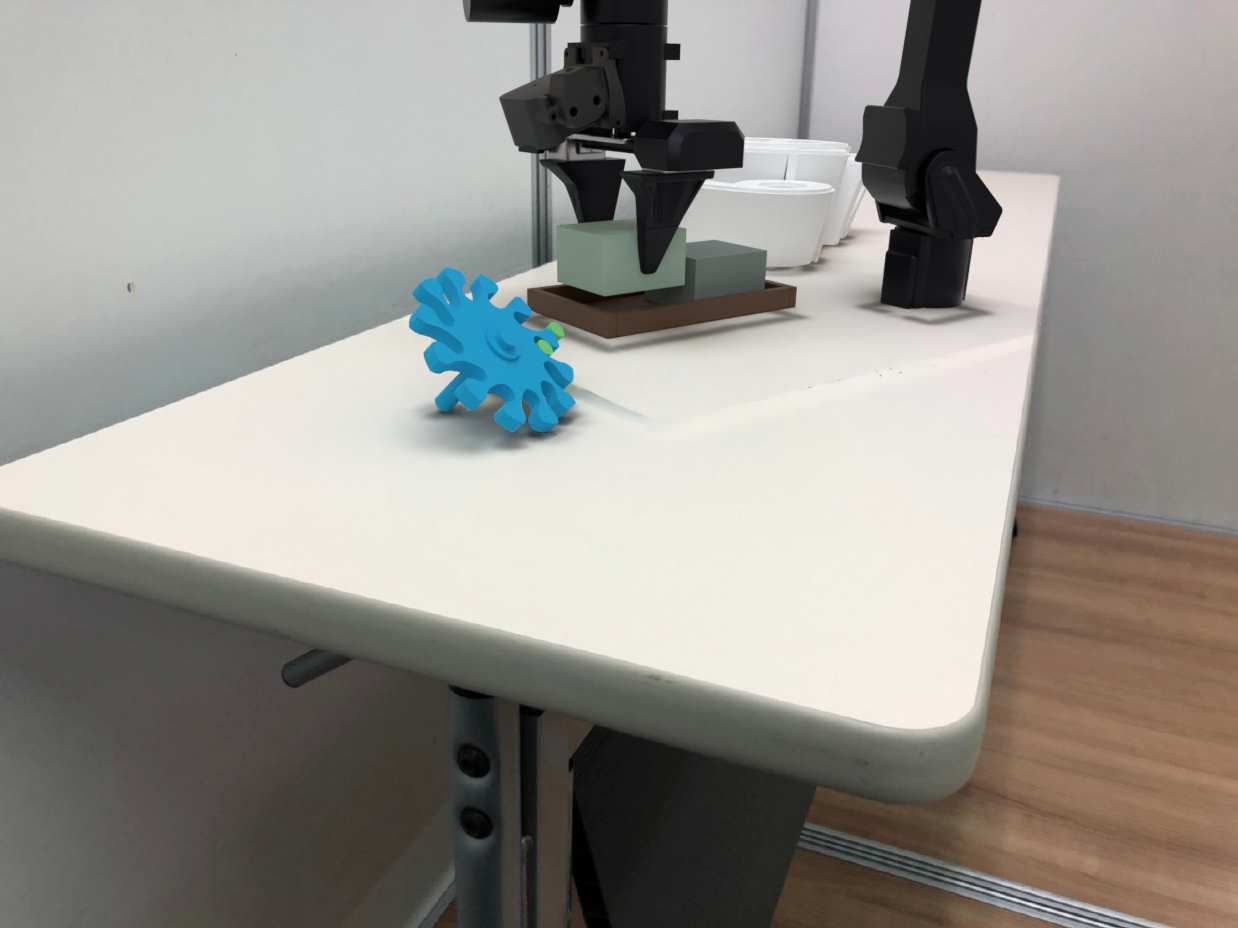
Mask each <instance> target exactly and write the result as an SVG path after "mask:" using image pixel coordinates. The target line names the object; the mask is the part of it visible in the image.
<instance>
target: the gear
mask: <svg viewBox="0 0 1238 928" xmlns="http://www.w3.org/2000/svg"><path fill="white" fill-rule="evenodd" d="M466 281H467V280H466V276H465V275H464V273H463V272H462V271H459V270H457V269H455V268H451V267H444V268H443V269H442V270H441V271H440V272H439V273H438V274H437V275H436V277H435V278H434V277H427V278H426V279H423V280H422V281H420V283H419V284H418V285H417V286H416V288H415V289H413V291H412V292H411V294H412V296H413V298H414V299H415V301H417V302H418V303H419V306H418V307H417V308H416V309H415V310H414V311H413V313H412V314H411V315H410V317H409V320H408V328H409V329H410V330H411V331H413V333H415V334H417V335H419V336H424V337H427V338H430V339H432V340H434V341H432V342H431V344H430V345H428V347H427V348H426V349H425V350H424V351H423V352H422V353H423V354H422V355H423V359H424V362H425V364H426V366H427V368H428V370H429V371H430V373H431V372H432V373H433V374H436V375H441V374H443V373H445V372H457V373H458V374H457V375H456V376H455V377H454V378H453V379H452V380H451V381H450V382H449V383H448V385H446V386H445V388H443V390H441V391H440V392H439V394H438V395H437V396H436V397H434V404H435V406H436V407H437V408H438V410H440V411H441V412H445V413H448V412H450V411H451V410H452V409H453V408H454V407H455V406H456V405H457V404H458V403H459V402H460V403H461V404H462V405H463V406H464V407H465V408H466V410H468V411H475V410H476V409H477V408H478V407H479V406H480V405H481V404H483V402H484V401H486V399H487V396H488V395H492V394H494V395H497V396H498V397H499V398H501V400H502V401H503V403H504V404H503V405H502V406H501V407H500V408H499V409H498V410H497V411H496V412H494V414H493V415H494V416H493V419H494V422H495V423H497V424H498V425H499V426H500V427H502V428H503V429H505V430H507V431H509V432H511V433H515V432H516V431H517V430H518V429H519V428H520V427H521V426H522V425H523V424H524V423H526V420H527V422H528V425H529V426H530V428H531V430H532V431H535V432H537V433H549V432H550V431H552V430H553V428H555V427H556V426H557V425H558V424H559V418H561V417H563V416H564V415H565V414H566V413H567V412H568V411H569V410H571V409H572V408H573V407H574V406H575V404H576V402H577V401H576V400H575V398H574V397H573V396H572V395H571V394H570V393H569V392H567V391H566V390H565V389H566V388H567V387H568V386H569V385H570V384H572V382H573V381H574V378H575V377H574V376H575V375H574V368H573V367H572V366H570V364H568V363H567V362H564V361H559V360H557V359H554V358H553V357H551V356H552V355H553V354H554V353H555V352H556V351H557V350H558V349H559V348H560V343H559V341H561V340H562V338H564V336H565V335H566V334H565V330H564V328H563V327H562V326H561V325H560V324H559V323H558V322H556V321H551V322H550V323H549V324H548V325H546V326H545V327H544V328H543V329H539V330H536V329H532V328H529V327H527V326H524V325H523V324H524V323H525V322H526V321H527V320H528V319H529V318H530V317H531V316H532V315H533V313H534V312H533V311H532V310H531V309H530V307H529V306H528V305H527V302H526V301H525V300H524V299H523V298H522V297H520V296H514V297H513V298H512V299H511V300H510V302H508V304H507V305H506V306H505V307H497V306H495V305H494V304H493V303H492V302H491V301H490V300H491V299H492V298H493V297H495V295H496V294H497V293H498V292H499V285H498V284H497V283H496V282H495V281H493V280H492V279H491V278H489V277H488V276H486V275H484V274H482V273H479V274H478V275H477V277H475V279H474V280H473V281H472V282H471V283H470V284H469V290H470V293H471V296H472V299H470V298H469V297H468V296H467V295H466V294H465V292H464V290H463V287H464V286H465V285H466ZM446 299H447V300H446ZM522 401H523V402H525V403H526V404H527V405H528V407H529V409H530V412H529V415H528V418H527V417H526V413H525V412H524V408H523V404H522V403H523V402H522Z"/></svg>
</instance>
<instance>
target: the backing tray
mask: <svg viewBox="0 0 1238 928" xmlns="http://www.w3.org/2000/svg"><path fill="white" fill-rule="evenodd" d="M797 291H798V287H797V286H796V285H795V286H794V285H790V284H786V283H782V282H779V281H775V280H770V279H766V278H765V289H764V290H758V291H751V292H745V293H738V294H731V295H725V296H718V297H712V298H705V299H699V300H692V301H686V302H679V303H673V304H666V305H662V304H658V303H655V302H652V301H648V300H645V299H644V296H645V291H640V292H633V293H626V294H619V295H612V296H602V295H598V294H595V293H592V292H589V291H586V290H582V289H579V288H576V287H573V286H570V285H567V284H563V283H559V284H553V285H545V286H537V287H529V288H526V304H527V305H528V306H529V307H530V309H531V310H532V312H533V313H536V314H538V315H542V316H544V317H547V318H549V319H552V320H555V321H558V322H560V323H563V324H566V325H569V326H571V327H574V328H577V329H579V330H581V331H584V332H588V333H589V334H593V335H595V336H598V337H601V338H604V339H606V340H612V339H618V338H623V337H630V336H636V335H642V334H647V333H652V332H659V331H664V330H670V329H677V328H682V327H683V328H684V327H688V326H693V325H699V324H700V325H701V324H706V323H711V322H717V321H723V320H729V319H734V318H741V317H747V316H752V315H753V316H754V315H758V314H764V313H769V312H776V311H781V310H787V309H793V308H796V303H797V293H798V292H797Z"/></svg>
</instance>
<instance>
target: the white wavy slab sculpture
mask: <svg viewBox="0 0 1238 928" xmlns="http://www.w3.org/2000/svg"><path fill="white" fill-rule="evenodd" d="M851 150H852V146H850V145H849V143H847V142H841V141H832V140H831V141H830V140H818V139H805V138H804V139H801V138H782V137H781V138H779V137H753V136H752V137H749V136H745V141H744V159H743V168H733V169H716V170H715V175H714V178H713V179H706V180H705V182H704V184H703V185H702V187H701V189H700V190H699V192H698V194H697V195H696V197H695V199H694V200H693V202H692V204H691V205H690V207H689V208H688V210H687V212H686V214H685V215H684V217H683V219H682V221H681V223H680V225H679V227H682V228H686V229H687V231H686V243H690V242H699V241H708V240H719V241H724V242H729V243H733V244H738V245H743V246H748V247H753V248H758V249H762V250H767V262H766V268H767V267H768V268H790V267H803V266H806V265H809V264H812V263H811V262H813V263H818V262H819V258H820V255H821V251H822V247H823V246H837V245H838V244H839V242H840V240H843V239H845V238H846V237H847V235H848V232H849V231H850V228H851V226H852V223H853V221H854V219H855V216H856V214H857V212H858V210H859V207H860V205H861V203H862V201H863V198H864V196H865V195H866V193H867V191H868V190H867V189H866V187H864V185H863V182H862V178H861V173H862V163H860V162H856V161H855V157H856V155H857V153H850V152H851Z"/></svg>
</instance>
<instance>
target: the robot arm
mask: <svg viewBox="0 0 1238 928" xmlns="http://www.w3.org/2000/svg"><path fill="white" fill-rule="evenodd" d="M461 1H462V8H463V14H464V18H465V21H466V23H486V24H487V23H489V24H491V23H494V24H529V25H530V24H533V25H535V24H536V25H554V24H556V22H557V21H558V18H559V13H560V10H561V9H560V8H561V7H562V8H571V7H573V4H574V1H575V0H461ZM909 2H910V3H909V7H908V14H907V20H906V27H905V33H904V40H903V45H902V51H901V59H900V64H899V70H898V71H899V72H898V77H897V79H896V83H895V85H894V86H893V89H892V90H891V91H890V94H889V95H888V97H887V99H886V100H885V101H884V104H883V105H875V104H874V105H873V104H867V105H866V106H865V107H864V111H863V114H862V134H861V135H862V137H861V142H860V146H859V149H858V151H857V152H856V154H857V155H856V157H855V161H856V162H860V163H862V173H861V178H862V182H863V185H864V187H866V189H867V190H866V191H867V192H868V193H869V195H870V196H871V197H872V198H873V199H874V203H875V207H876V208H875V209H876V212H877V216H878V221H879V223H882V224H889V225H893V226H894V228H893V229H892V228H891V229H890V230H889V237H888V244H887V245H888V247H887V250H886V251H885V255H884V264H883V273H882V281H881V289H880V298H879V299H880V300H879V303H880V304H882V305H887V306H892V307H896V308H900V309H905V310H919V309H920V310H921V309H952V308H956V307H959V306H962V304H963V301H965V300H966V295H967V288H968V281H969V275H970V268H971V263H972V254H973V249H974V248H973V247H974V241H975V239H977V238H990V237H992V236H993V235H994V232H995V230H996V227H997V225H998V223H999V222H1000V219H1001V217H1002V215H1003V206H1001V204H1000V203H999V201H998V200H997V199H996V197H995V196H994V194H993V193H992V192H991V190H990V189H989V187H987V185H986V184H985V183H984V181H983V180H982V178H981V177H980V176H979V174H978V172H977V163H978V162H977V161H978V159H977V158H978V138H979V128H978V124H977V120H976V116H975V113H974V112H975V111H974V107H973V105H972V101H971V96H970V93H969V89H968V88H969V87H968V82H969V81H968V80H969V75H970V74H969V73H970V70H971V69H970V68H971V64H972V58H973V52H974V46H975V41H976V36H977V31H978V25H979V19H980V14H981V8H982V3H983V0H909ZM668 17H669V0H579V24H580V26H579V28H580V29H579V37H580V38H579V39H580V40H579V41H578V42H577V41H574V42H567V43H566V46H567V47H565V48H564V51H563V67H562V68H561V69H559V70H556V71H554V72H551V73H548V74H545V75H543V76H540V77H538V78H536V79H533V80H531V81H529V82H527V83H524V84H522V85H520V86H518V87H516V88H514V89H512V90H510V91H507V92H505V93H503V94H501V95H500V96H499V97H498V100H499V103H500V105H501V108H502V111H503V115H504V117H505V121H506V123H507V124H506V125H507V127H508V129H509V133H510V136H511V140H512V141H513V144H514V146H515V147H518V148H517V149H518V152H519V153H528V154H535V155H543V154H545V152H546V151H547V158H541V159H538V162H539V164H540V165H541V167H543V168H546V169H548V170H549V171H550V172H551V173H553V175H554V176H555V177H556V178H557V179H559V180H560V182H561V183H563V185H564V187H565V189H566V192H567V195H568V197H569V200H570V202H571V205H572V208H573V211H574V215H575V218H576V221H577V223H588V222H599V221H610V220H615V214H616V210H617V204H618V199H619V195H620V190H621V186H622V182H623V181H624V182H625V184H626V186H627V187H628V188H629V190H630V191H631V192H632V194H633V195H634V201H635V218H636V222H637V242H638V256H639V263H640V271H641V273H642V274H653V273H655V272H656V271H657V269H658V267H659V265H660V263H661V261H662V259H663V257H664V255H665V253H666V251H667V249H668V247H669V245H670V243H671V241H672V239H673V237H674V235H675V233H676V231H677V229H678V227H679V225H680V223H681V221H682V219H683V217H684V215H685V214H686V212H687V210H688V208H689V207H690V205H691V204H692V202H693V200H694V199H695V197H696V195H697V194H698V192H699V190H700V189H701V187H702V185H703V184H704V182H705V180H706V179H713V178H714V175H715V170H716V169H733V168H743V159H744V141H745V137H746V136H745V134H744V133H743V132H742V130H741V129H740V127H739V126H738V124H737V122H736V121H734V120H719V119H707V118H706V119H705V118H704V119H703V118H693V119H692V118H691V119H679V109H666V107H667V105H666V102H667V101H666V100H667V71H668V70H667V64H668V62H667V61H681V47H682V46H681V43H674V42H673V43H670V42H668V31H669V30H668V28H669V27H668V22H669V21H668V20H669V18H668ZM632 133H635V134H632ZM606 152H615V153H623V154H631V155H634V157H635V159H636V161H637V163H638V164H639V166H640V168H641V169H634V170H625V166H626V163H627V158H622V157H621V158H620V157H615V156H614V157H613V156H607V155H606V154H607V153H606Z"/></svg>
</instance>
